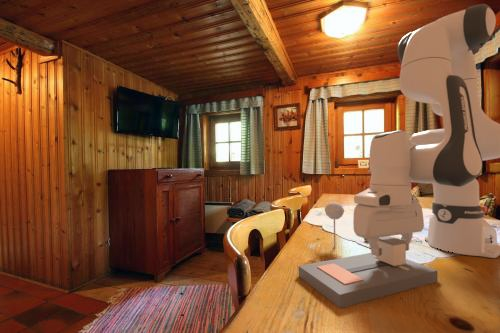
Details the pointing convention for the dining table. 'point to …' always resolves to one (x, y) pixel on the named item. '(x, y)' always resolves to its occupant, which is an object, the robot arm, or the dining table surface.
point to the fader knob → (392, 250)
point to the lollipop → (334, 212)
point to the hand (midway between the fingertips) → (390, 252)
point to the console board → (363, 278)
